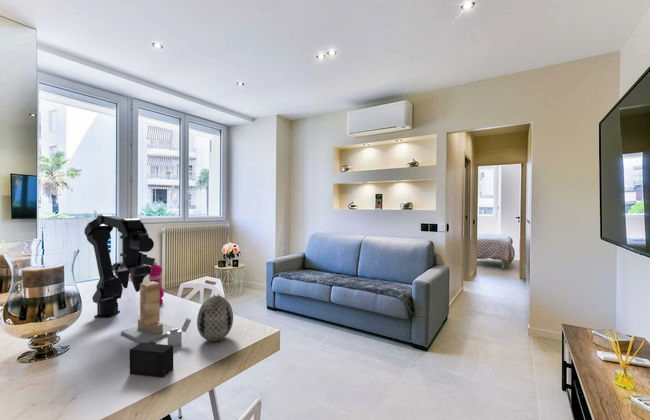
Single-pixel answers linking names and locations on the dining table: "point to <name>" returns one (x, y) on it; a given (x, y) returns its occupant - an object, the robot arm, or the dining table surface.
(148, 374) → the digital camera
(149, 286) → the oak block
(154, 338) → the ridge stand
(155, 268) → the pepper mill
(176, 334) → the lighter
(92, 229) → the robot arm
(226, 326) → the decorative egg
